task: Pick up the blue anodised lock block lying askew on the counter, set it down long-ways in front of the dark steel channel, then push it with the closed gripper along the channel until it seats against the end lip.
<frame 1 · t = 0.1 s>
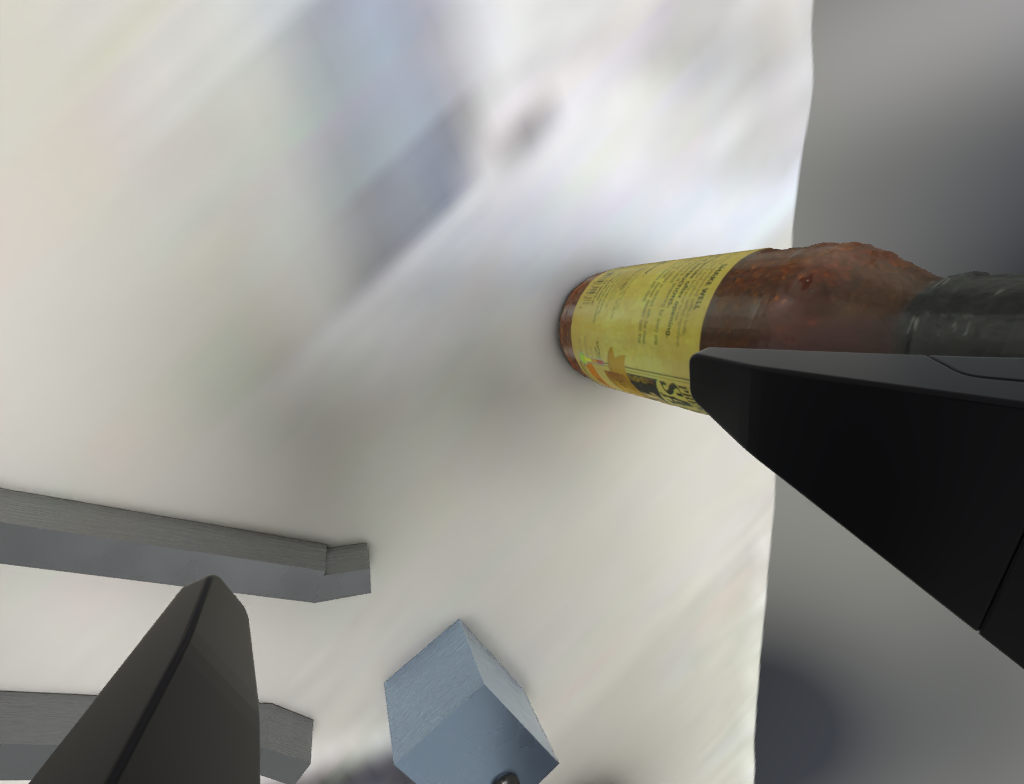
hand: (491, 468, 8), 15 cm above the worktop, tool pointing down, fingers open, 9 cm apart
lock block: (457, 685, 27), on the worktop
sauce bottle: (605, 327, 26), on the worktop
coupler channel: (82, 618, 20), on the worktop
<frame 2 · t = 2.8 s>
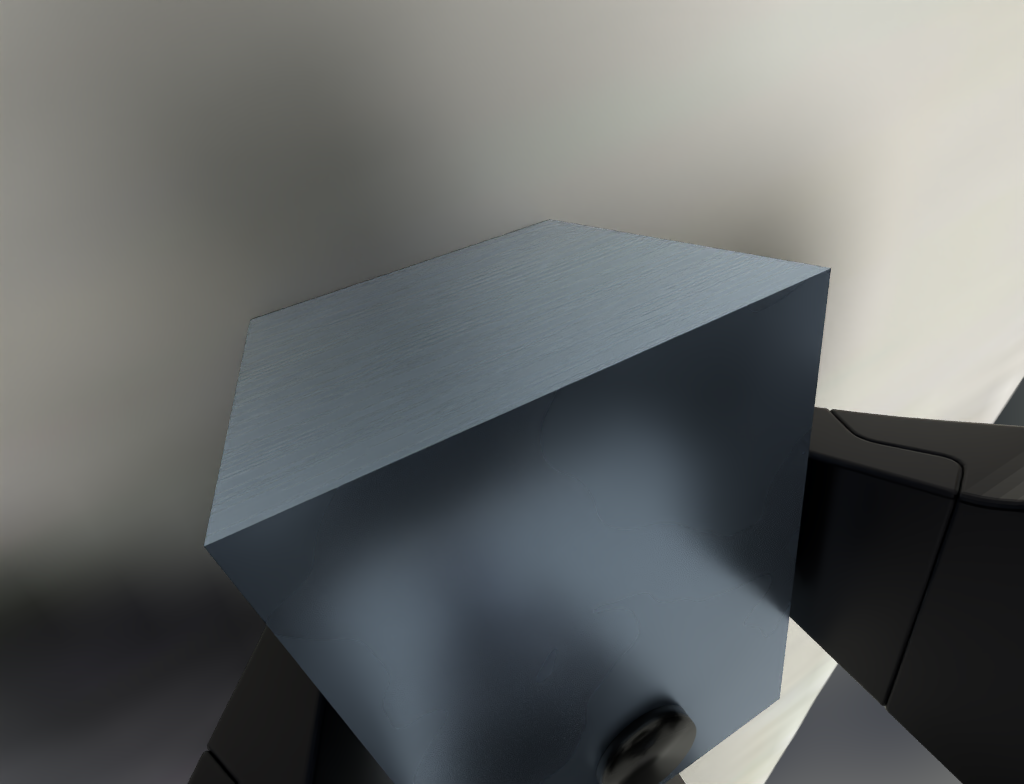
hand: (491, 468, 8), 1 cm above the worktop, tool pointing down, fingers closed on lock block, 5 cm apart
lock block: (471, 439, 9), on the worktop, touching gripper
when the fingers open (2 cm above the worktop, at t = 6.2 s): lock block stays where it is, on the worktop.
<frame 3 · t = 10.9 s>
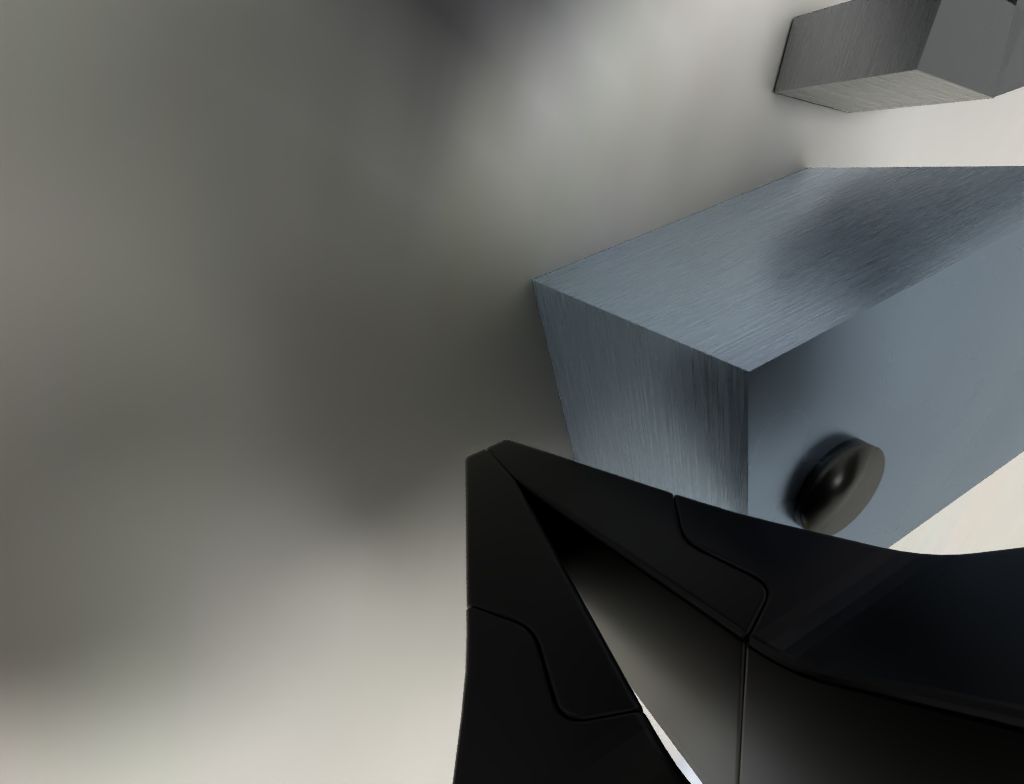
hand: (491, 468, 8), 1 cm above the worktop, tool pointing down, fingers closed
lock block: (685, 327, 11), on the worktop, touching gripper
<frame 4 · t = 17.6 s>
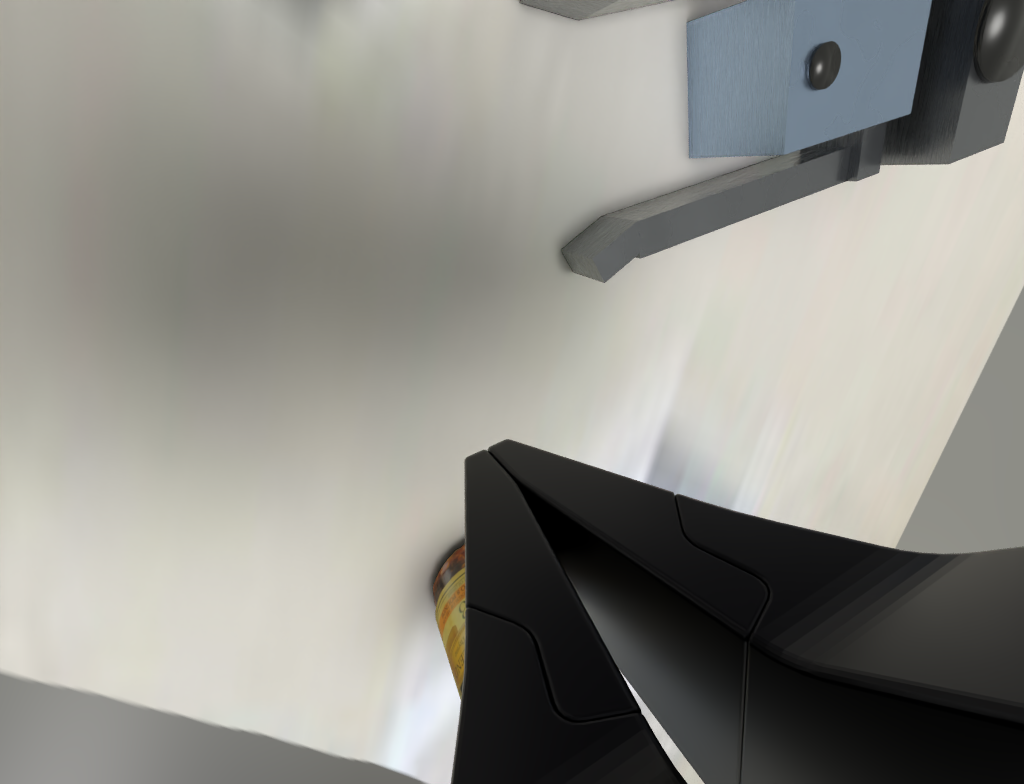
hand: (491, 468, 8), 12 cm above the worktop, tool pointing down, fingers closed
lock block: (747, 78, 21), resting in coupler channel
sauce bottle: (477, 571, 26), on the worktop
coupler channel: (751, 82, 21), on the worktop
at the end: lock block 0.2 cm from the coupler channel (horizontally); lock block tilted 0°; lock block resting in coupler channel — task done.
